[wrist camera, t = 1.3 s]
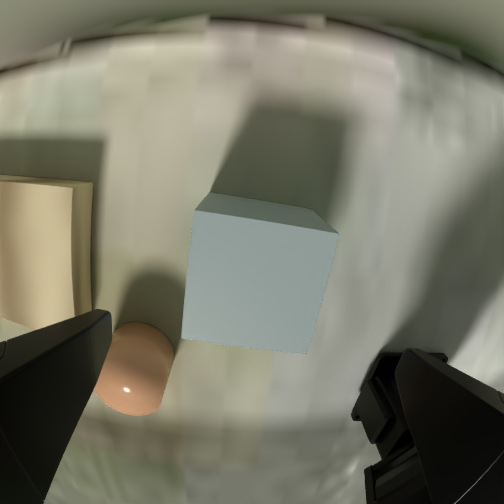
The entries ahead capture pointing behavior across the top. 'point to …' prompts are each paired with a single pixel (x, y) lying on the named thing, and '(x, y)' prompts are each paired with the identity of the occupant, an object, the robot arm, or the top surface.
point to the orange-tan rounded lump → (135, 369)
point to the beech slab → (44, 249)
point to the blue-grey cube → (256, 273)
